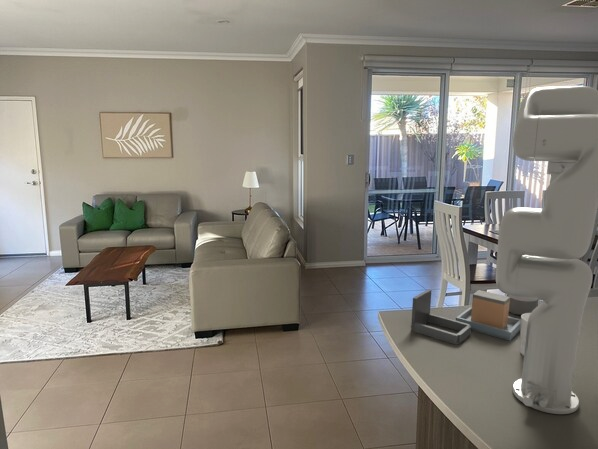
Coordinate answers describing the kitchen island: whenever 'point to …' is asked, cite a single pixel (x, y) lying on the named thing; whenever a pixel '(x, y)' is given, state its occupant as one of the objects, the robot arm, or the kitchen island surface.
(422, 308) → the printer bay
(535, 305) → the smart speaker
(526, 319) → the white cup
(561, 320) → the robot arm
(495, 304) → the block
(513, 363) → the kitchen island surface
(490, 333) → the tray
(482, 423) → the kitchen island surface
